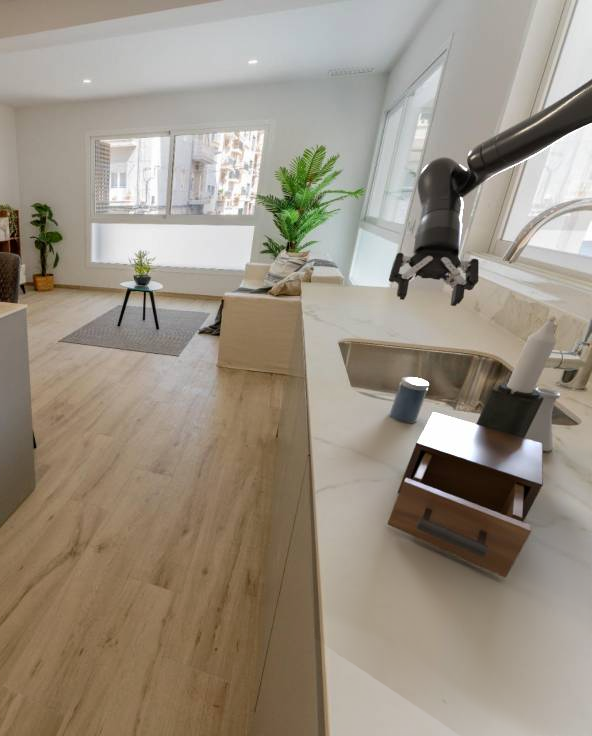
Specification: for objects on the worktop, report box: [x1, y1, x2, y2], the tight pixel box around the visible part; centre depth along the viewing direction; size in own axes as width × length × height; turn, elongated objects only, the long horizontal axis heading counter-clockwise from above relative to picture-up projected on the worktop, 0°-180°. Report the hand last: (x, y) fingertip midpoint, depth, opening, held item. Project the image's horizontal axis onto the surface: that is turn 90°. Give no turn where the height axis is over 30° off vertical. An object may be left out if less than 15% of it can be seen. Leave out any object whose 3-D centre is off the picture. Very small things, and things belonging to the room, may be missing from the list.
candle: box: [476, 315, 557, 438], centre depth 66 cm, size 5×5×25 cm
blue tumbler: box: [389, 376, 430, 424], centre depth 83 cm, size 4×4×8 cm
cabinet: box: [397, 411, 544, 522], centre depth 61 cm, size 14×13×9 cm
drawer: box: [387, 452, 532, 579], centre depth 53 cm, size 17×11×7 cm
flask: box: [525, 387, 562, 452], centre depth 75 cm, size 7×7×10 cm
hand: (428, 300), depth 85 cm, fingers open, 8 cm apart
